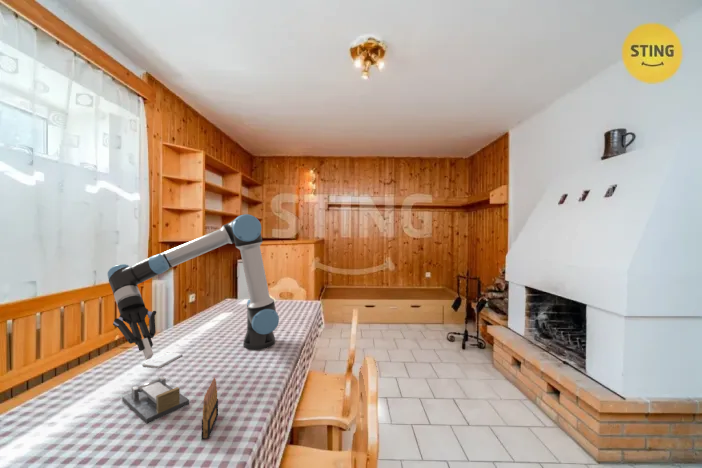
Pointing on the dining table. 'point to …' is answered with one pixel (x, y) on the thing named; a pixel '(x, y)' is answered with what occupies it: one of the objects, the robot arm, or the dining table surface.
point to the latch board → (146, 407)
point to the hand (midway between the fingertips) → (149, 356)
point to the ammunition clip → (209, 410)
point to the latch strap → (153, 389)
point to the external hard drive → (162, 360)
